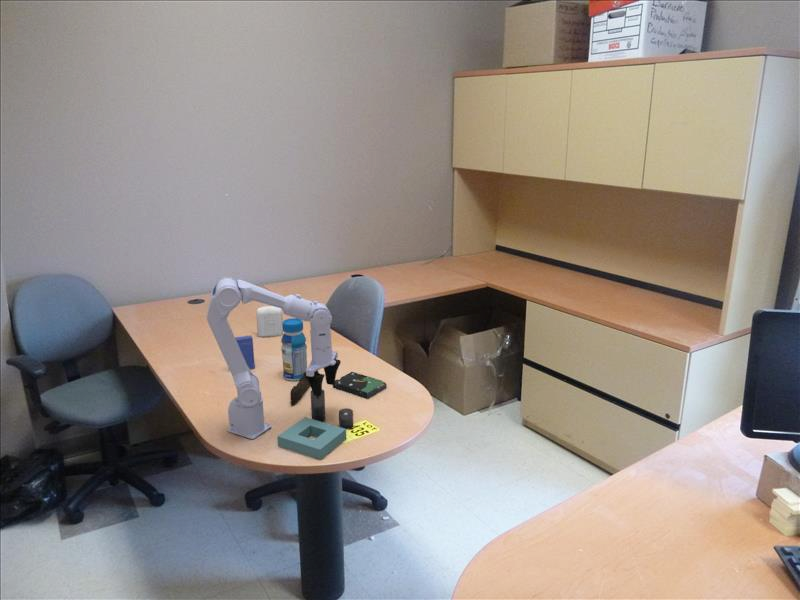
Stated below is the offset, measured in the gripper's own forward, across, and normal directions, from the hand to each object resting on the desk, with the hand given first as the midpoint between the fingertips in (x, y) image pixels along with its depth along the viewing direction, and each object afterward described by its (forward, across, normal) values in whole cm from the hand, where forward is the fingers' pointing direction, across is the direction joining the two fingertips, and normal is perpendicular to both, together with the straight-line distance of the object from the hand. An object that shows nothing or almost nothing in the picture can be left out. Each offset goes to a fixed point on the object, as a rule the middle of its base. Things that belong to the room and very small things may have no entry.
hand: (324, 389), depth 169 cm
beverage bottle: (+10, +22, +25) cm, 35 cm away
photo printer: (+10, +53, +56) cm, 77 cm away
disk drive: (+11, +23, 0) cm, 25 cm away
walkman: (+9, +20, +45) cm, 50 cm away
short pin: (+10, -1, -7) cm, 12 cm away
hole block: (+10, -13, -3) cm, 16 cm away
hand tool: (+10, +12, +16) cm, 22 cm away
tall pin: (+10, -1, +2) cm, 10 cm away
